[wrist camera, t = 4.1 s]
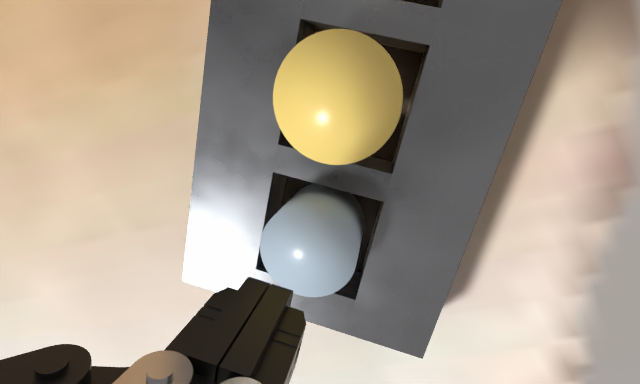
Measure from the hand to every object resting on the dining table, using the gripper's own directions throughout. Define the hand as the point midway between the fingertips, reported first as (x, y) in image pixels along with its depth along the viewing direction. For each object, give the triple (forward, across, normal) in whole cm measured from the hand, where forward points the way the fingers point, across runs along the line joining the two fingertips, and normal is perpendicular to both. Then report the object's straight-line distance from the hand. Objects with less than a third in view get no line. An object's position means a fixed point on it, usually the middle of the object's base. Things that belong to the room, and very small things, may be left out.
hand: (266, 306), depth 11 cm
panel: (+10, 0, -7) cm, 12 cm away
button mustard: (+7, 0, -7) cm, 10 cm away
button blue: (+9, 0, 0) cm, 9 cm away
